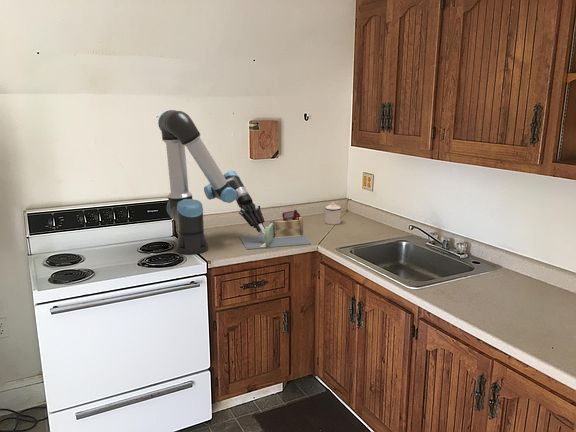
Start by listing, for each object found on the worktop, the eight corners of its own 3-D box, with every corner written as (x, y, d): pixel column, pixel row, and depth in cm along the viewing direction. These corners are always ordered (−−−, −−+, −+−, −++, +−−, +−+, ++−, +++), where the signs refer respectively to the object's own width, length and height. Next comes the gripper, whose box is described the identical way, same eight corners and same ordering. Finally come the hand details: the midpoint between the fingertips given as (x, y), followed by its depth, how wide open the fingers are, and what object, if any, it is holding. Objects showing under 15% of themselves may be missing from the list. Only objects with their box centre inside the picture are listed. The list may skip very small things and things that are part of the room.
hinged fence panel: (270, 237, 256) (270, 220, 254) (274, 237, 256) (273, 220, 253) (264, 245, 242) (264, 227, 240) (269, 245, 242) (268, 227, 240)
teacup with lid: (344, 223, 285) (344, 203, 282) (331, 225, 280) (331, 205, 277) (331, 218, 295) (331, 199, 292) (318, 221, 290) (318, 201, 287)
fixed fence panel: (271, 239, 256) (270, 220, 254) (270, 237, 258) (269, 218, 256) (303, 236, 260) (303, 217, 258) (302, 235, 262) (302, 216, 260)
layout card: (246, 249, 240) (246, 248, 239) (239, 236, 260) (239, 235, 260) (311, 244, 247) (311, 243, 247) (299, 232, 268) (299, 231, 268)
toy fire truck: (305, 228, 275) (305, 210, 272) (287, 232, 268) (287, 213, 265) (297, 226, 280) (297, 207, 278) (279, 229, 273) (279, 211, 270)
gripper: (249, 200, 262) (271, 237, 255) (229, 204, 253) (251, 243, 246) (256, 191, 257) (278, 229, 250) (235, 195, 248) (258, 234, 241)
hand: (265, 236), depth 248 cm, fingers closed
